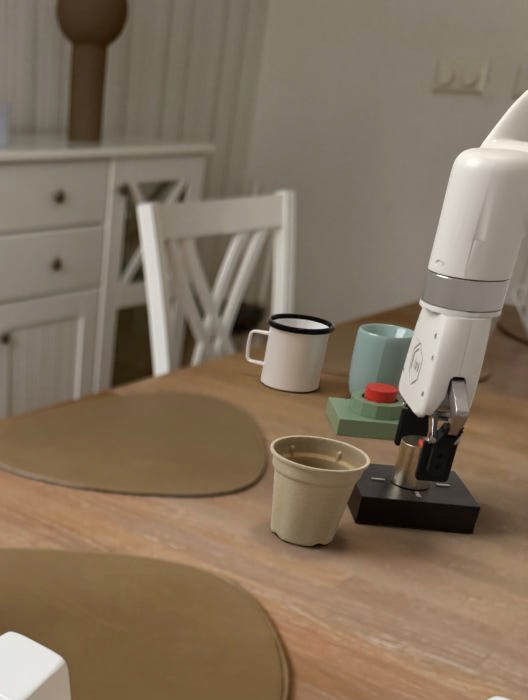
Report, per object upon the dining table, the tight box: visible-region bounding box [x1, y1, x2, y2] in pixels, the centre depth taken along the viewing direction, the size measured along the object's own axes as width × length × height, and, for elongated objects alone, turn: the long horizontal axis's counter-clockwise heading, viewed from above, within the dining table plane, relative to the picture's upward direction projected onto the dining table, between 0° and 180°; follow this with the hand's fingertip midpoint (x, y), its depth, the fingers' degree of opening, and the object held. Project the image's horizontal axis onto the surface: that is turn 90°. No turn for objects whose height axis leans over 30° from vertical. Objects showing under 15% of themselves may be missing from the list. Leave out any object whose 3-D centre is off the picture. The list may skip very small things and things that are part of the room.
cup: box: [348, 323, 414, 396], centre depth 135 cm, size 8×8×10 cm
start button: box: [363, 383, 398, 404], centre depth 126 cm, size 4×4×2 cm
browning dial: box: [391, 435, 431, 490], centre depth 102 cm, size 4×4×5 cm
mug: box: [245, 312, 336, 394], centre depth 140 cm, size 12×10×9 cm
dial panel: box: [347, 462, 482, 535], centre depth 104 cm, size 12×10×3 cm
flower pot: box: [269, 434, 371, 547], centre depth 96 cm, size 9×9×9 cm
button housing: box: [324, 390, 408, 441], centre depth 127 cm, size 11×9×4 cm
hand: (419, 462), depth 102 cm, fingers open, 9 cm apart
